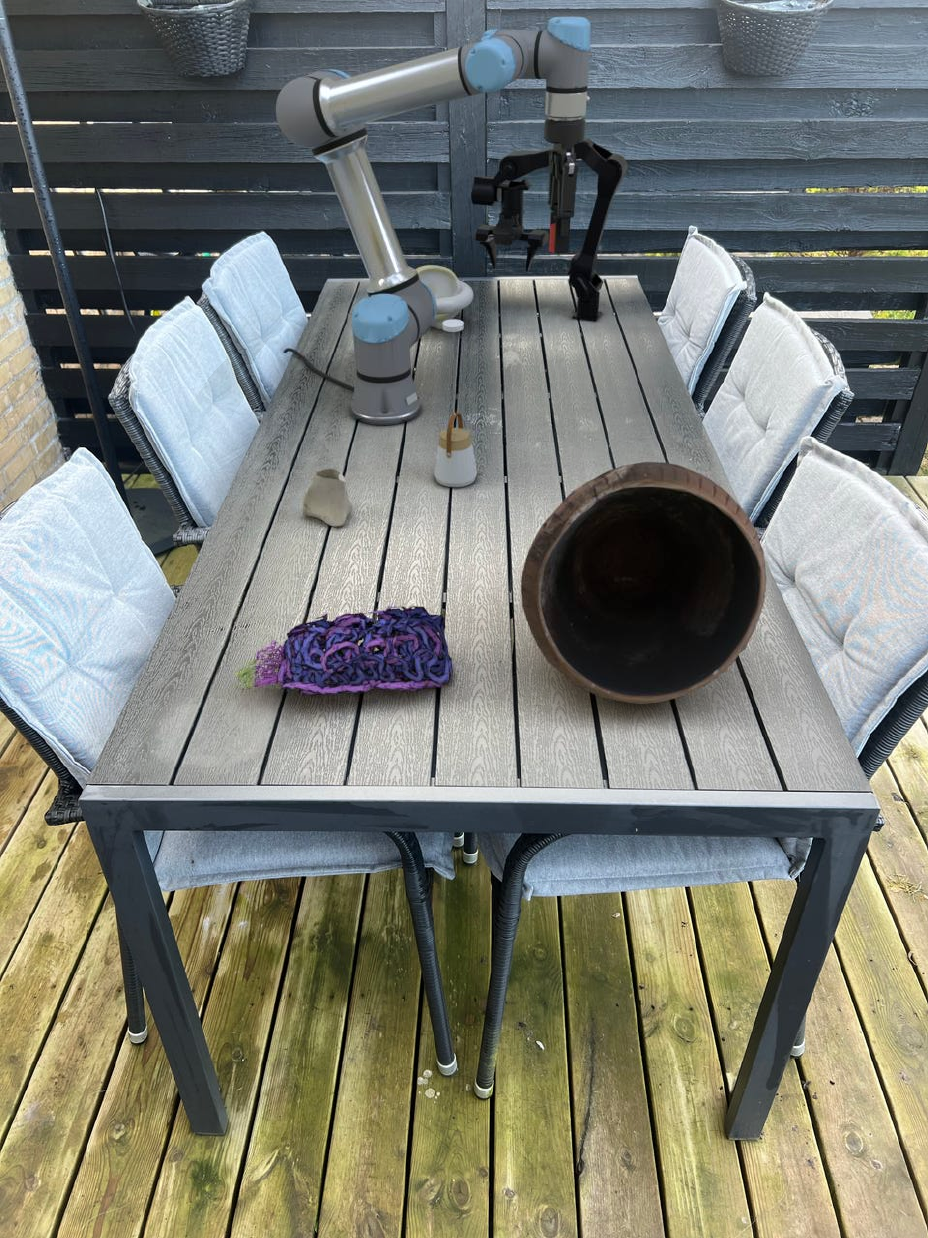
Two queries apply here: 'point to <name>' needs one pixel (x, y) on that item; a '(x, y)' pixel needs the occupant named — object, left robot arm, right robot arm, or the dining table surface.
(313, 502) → the bone
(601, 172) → the right robot arm
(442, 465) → the pendant light
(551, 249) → the can
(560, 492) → the dining table surface
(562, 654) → the pot
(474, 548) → the dining table surface
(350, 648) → the decorative ornament
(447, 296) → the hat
